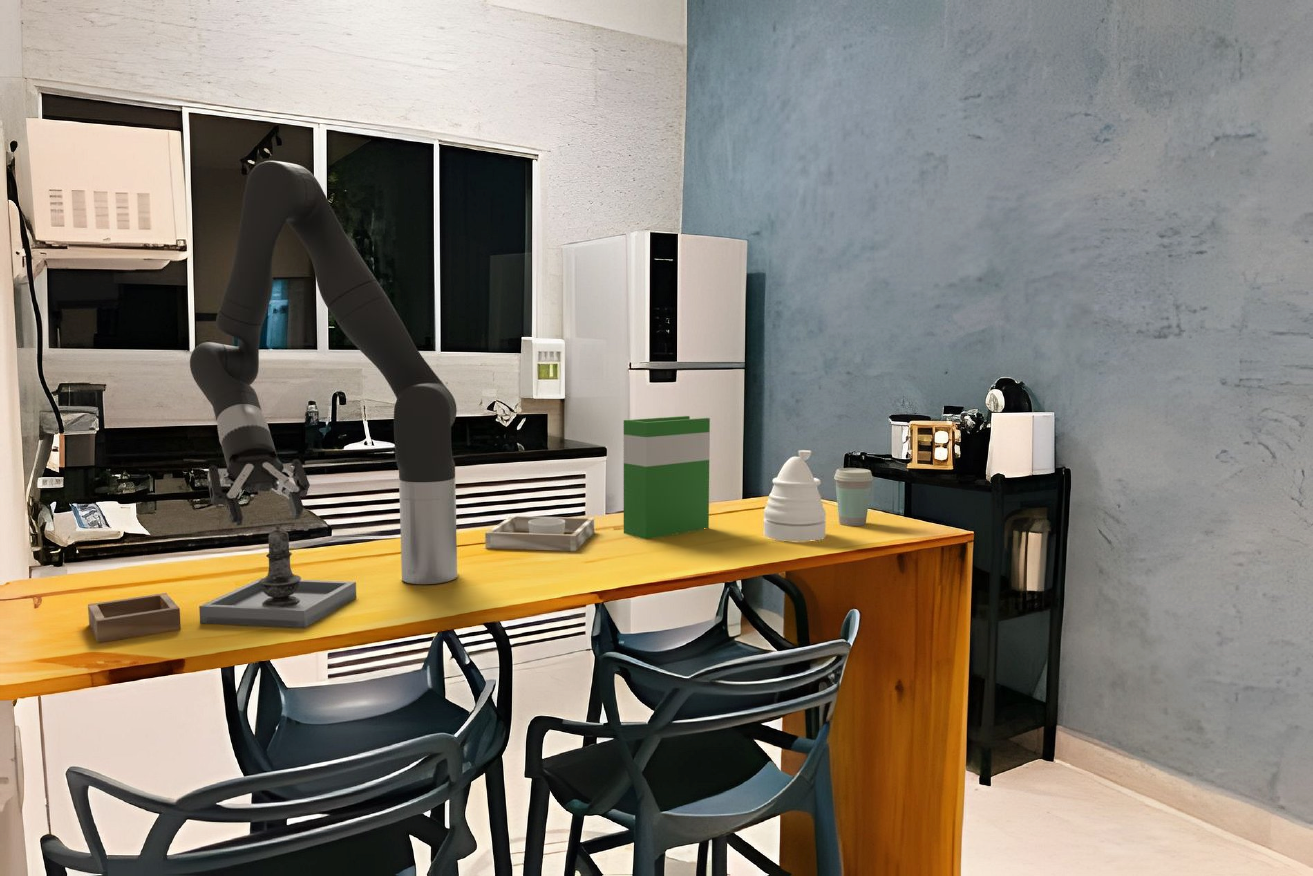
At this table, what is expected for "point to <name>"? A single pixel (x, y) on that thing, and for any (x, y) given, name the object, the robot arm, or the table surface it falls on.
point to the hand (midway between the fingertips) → (269, 519)
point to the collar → (133, 617)
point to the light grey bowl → (547, 526)
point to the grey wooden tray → (539, 535)
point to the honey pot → (795, 504)
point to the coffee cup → (853, 495)
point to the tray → (249, 610)
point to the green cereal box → (666, 476)
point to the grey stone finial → (279, 572)
